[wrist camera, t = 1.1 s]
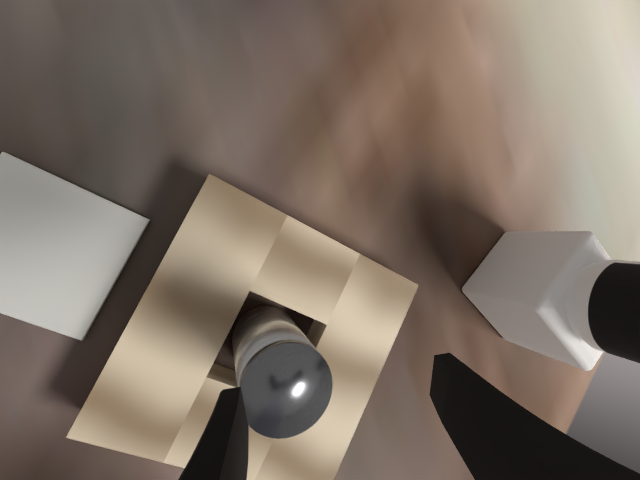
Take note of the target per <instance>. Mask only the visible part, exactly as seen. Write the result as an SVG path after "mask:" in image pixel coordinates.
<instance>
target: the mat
mask: <svg viewBox="0 0 640 480" xmlns="http://www.w3.org/2000/svg"><path fill="white" fill-rule="evenodd" d="M149 221H150V220H149V219H147V218H145V217H143V216H141V215H139V214H136V213H134V212H132V211H130V210H128V209H126V208H124V207H121V206H119V205H117V204H115V203H113V202H111V201H109V200H106V199H104V198H102V197H100V196H98V195H96V194H94V193H91V192H89V191H87V190H85V189H83V188H81V187H79V186H76V185H74V184H72V183H70V182H68V181H66V180H63V179H61V178H59V177H57V176H55V175H53V174H51V173H48V172H46V171H44V170H42V169H40V168H38V167H36V166H33V165H31V164H29V163H27V162H25V161H23V160H21V159H18V158H16V157H14V156H12V155H10V154H8V153H5V152H2V153H1V154H0V313H2V314H5V315H8V316H11V317H14V318H17V319H20V320H22V321H25V322H28V323H31V324H34V325H37V326H40V327H43V328H46V329H49V330H52V331H55V332H58V333H61V334H64V335H67V336H70V337H72V338H75V339H78V340H81V341H82V340H83V339H84V338H85V336H86V334H87V333H88V331H89V329H90V327H91V325H92V324H93V322H94V320H95V318H96V316H97V315H98V313H99V311H100V309H101V308H102V306H103V304H104V302H105V300H106V299H107V297H108V295H109V293H110V291H111V290H112V288H113V286H114V284H115V282H116V281H117V279H118V277H119V275H120V273H121V272H122V270H123V268H124V266H125V264H126V263H127V261H128V259H129V257H130V255H131V254H132V252H133V250H134V248H135V246H136V245H137V243H138V241H139V239H140V237H141V236H142V234H143V232H144V230H145V228H146V227H147V225H148V223H149Z"/></svg>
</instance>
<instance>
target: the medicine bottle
mask: <svg viewBox="0 0 640 480" xmlns="http://www.w3.org/2000/svg"><path fill="white" fill-rule="evenodd" d="M462 292H463V293H464V294H465V295H466V296H467V298H468V299H469V300H470V301H471V302H472V303H473V304H474V305H475V307H476V308H477V309H478V310H479V311H480V312H481V313H482V315H483V316H484V317H485V318H486V319H487V320H488V321H489V322H490V324H491V325H492V326H493V327H494V328H495V329H496V330H497V331H498V333H499V334H500V335H501V336H502V337H503V338H504V339H505V340H506V341H509V342H511V343H514V344H517V345H519V346H522V347H525V348H527V349H530V350H533V351H535V352H538V353H540V354H543V355H546V356H548V357H551V358H554V359H556V360H559V361H562V362H564V363H567V364H569V365H572V366H575V367H577V368H580V369H583V370H586V371H589V370H591V369H592V368H593V367H594V365H595V364H596V362H597V360H598V359H599V357H600V356H601V354H602V353H603V352H606V353H609V354H613V355H616V356H619V357H622V358H626V359H628V360H632V361H635V362H638V363H640V262H635V261H622V260H611V258H610V257H609V255H608V254H607V252H606V251H605V249H604V248H603V247H602V245H601V244H600V242H599V241H598V239H597V238H596V237H595V235H594V234H593V233H592V232H589V231H507V232H505V233H504V234H503V236H502V237H501V238H500V239H499V241H498V242H497V243H496V245H495V246H494V247H493V248H492V250H491V251H490V252H489V254H488V255H487V256H486V257H485V259H484V260H483V261H482V263H481V264H480V265H479V267H478V268H477V269H476V270H475V272H474V273H473V274H472V276H471V277H470V278H469V279H468V281H467V282H466V283H465V285H464V286H463V287H462Z"/></svg>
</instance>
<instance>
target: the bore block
mask: <svg viewBox="0 0 640 480" xmlns="http://www.w3.org/2000/svg"><path fill="white" fill-rule="evenodd" d="M418 286H419V285H417V284H415V283H413V282H412V281H410V280H408V279H406V278H404V277H402V276H400V275H398V274H397V273H395V272H393V271H391V270H389V269H387V268H385V267H384V266H382V265H380V264H378V263H376V262H374V261H372V260H370V259H369V258H367V257H365V256H363V255H361V254H359V253H357V252H355V251H354V250H352V249H350V248H348V247H346V246H344V245H342V244H340V243H339V242H337V241H335V240H333V239H331V238H329V237H327V236H325V235H324V234H322V233H320V232H318V231H316V230H314V229H312V228H310V227H309V226H307V225H305V224H303V223H301V222H299V221H297V220H295V219H294V218H292V217H290V216H288V215H286V214H284V213H282V212H280V211H279V210H277V209H275V208H273V207H271V206H269V205H267V204H265V203H264V202H262V201H260V200H258V199H256V198H254V197H252V196H250V195H249V194H247V193H245V192H243V191H241V190H239V189H237V188H235V187H234V186H232V185H230V184H228V183H226V182H224V181H222V180H221V179H219V178H217V177H215V176H213V175H211V174H209V175H208V177H207V179H206V181H205V182H204V184H203V186H202V188H201V190H200V192H199V194H198V195H197V197H196V199H195V201H194V203H193V205H192V206H191V208H190V210H189V212H188V214H187V216H186V217H185V219H184V221H183V223H182V225H181V227H180V229H179V230H178V232H177V234H176V236H175V238H174V240H173V241H172V243H171V245H170V247H169V249H168V251H167V252H166V254H165V256H164V258H163V260H162V262H161V264H160V265H159V267H158V269H157V271H156V273H155V275H154V276H153V278H152V280H151V282H150V284H149V286H148V287H147V289H146V291H145V293H144V295H143V297H142V299H141V300H140V302H139V304H138V306H137V308H136V310H135V311H134V313H133V315H132V317H131V319H130V321H129V323H128V324H127V326H126V328H125V330H124V332H123V334H122V335H121V337H120V339H119V341H118V343H117V345H116V346H115V348H114V350H113V352H112V354H111V356H110V358H109V359H108V361H107V363H106V365H105V367H104V369H103V370H102V372H101V374H100V376H99V378H98V380H97V381H96V383H95V385H94V387H93V389H92V391H91V393H90V394H89V396H88V398H87V400H86V402H85V404H84V405H83V407H82V409H81V411H80V413H79V415H78V416H77V418H76V420H75V422H74V424H73V426H72V428H71V429H70V431H69V433H68V435H67V437H66V438H69V439H73V440H77V441H81V442H85V443H89V444H93V445H97V446H100V447H104V448H108V449H112V450H116V451H120V452H124V453H128V454H132V455H135V456H139V457H143V458H147V459H151V460H155V461H159V462H163V463H167V464H171V465H174V466H178V467H182V468H185V467H186V465H187V463H188V462H189V460H190V458H191V456H192V454H193V452H194V450H195V448H196V446H197V444H198V442H199V440H200V438H201V436H202V434H203V432H204V430H205V428H206V425H207V423H208V421H209V419H210V417H211V414H212V412H213V410H214V407H215V405H216V402H217V400H218V397H219V394H220V392H221V391H222V390H223V389H229V388H235V387H237V380H236V371H235V370H232V369H229V368H226V367H224V366H221V365H218V364H215V363H214V361H215V359H216V357H217V355H218V353H219V351H220V349H221V347H222V345H223V343H224V341H225V339H226V337H227V335H228V333H229V331H230V329H231V327H232V325H233V323H234V321H235V319H236V317H237V315H238V313H239V311H240V309H241V307H242V305H243V303H244V301H245V299H246V297H247V295H248V293H249V291H252V292H254V293H256V294H258V295H261V296H263V297H265V298H267V299H270V300H272V301H274V302H276V303H279V304H281V305H283V306H285V307H288V308H290V309H292V310H295V311H297V312H299V313H301V314H304V315H306V316H308V317H310V318H313V319H314V321H313V323H312V325H311V327H310V329H309V332H308V334H307V336H306V337H307V338H308V339H309V341H310V342H311V343H312V344H313V346H314V347H315V348H316V349H317V350H318V352H319V353H320V354H321V355H322V356H323V358H324V359H325V360H326V362H327V364H328V365H329V368H330V370H331V374H332V381H333V388H332V395H331V398H330V401H329V404H328V406H327V408H326V410H325V412H324V413H323V415H322V416H321V418H320V419H319V420H318V421H317V422H316V423H315V424H314V425H313V426H312V427H310V428H309V429H308V430H306V431H304V432H303V433H301V434H298V435H296V436H293V437H289V438H283V439H275V438H269V437H265V436H263V435H260V434H259V433H257V432H255V431H254V430H253V429H252V428H251V427H250V426H249V425H248V426H249V456H248V470H247V480H334V477H335V475H336V473H337V471H338V468H339V466H340V464H341V461H342V459H343V457H344V455H345V452H346V450H347V448H348V446H349V443H350V441H351V439H352V436H353V434H354V432H355V430H356V427H357V425H358V423H359V420H360V418H361V416H362V414H363V411H364V409H365V407H366V404H367V402H368V400H369V398H370V395H371V393H372V391H373V388H374V386H375V384H376V382H377V379H378V377H379V375H380V372H381V370H382V368H383V366H384V363H385V361H386V359H387V356H388V354H389V352H390V350H391V347H392V345H393V343H394V340H395V338H396V336H397V334H398V331H399V329H400V327H401V325H402V322H403V320H404V318H405V315H406V313H407V311H408V309H409V306H410V304H411V302H412V299H413V297H414V295H415V293H416V290H417V288H418Z"/></svg>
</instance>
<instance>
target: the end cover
mask: <svg viewBox="0 0 640 480" xmlns="http://www.w3.org/2000/svg"><path fill="white" fill-rule="evenodd" d="M232 345H233V354H234V363H235V371H236V380H237V387H241V390H242V396H243V401H244V406H245V411H246V416H247V421H248V425H249V426H250V427H251V428H252V429H253V430H254V431H255V432H257V433H259V434H260V435H263V436H265V437H269V438H275V439H283V438H289V437H293V436H296V435H298V434H301V433H303V432H304V431H306V430H308V429H309V428H310V427H312V426H313V425H314V424H315V423H316V422H317V421H318V420H319V419H320V418H321V416H322V415H323V413H324V412H325V410H326V408H327V406H328V404H329V401H330V398H331V395H332V388H333V381H332V374H331V370H330V368H329V365H328V364H327V362H326V360H325V359H324V358H323V356H322V355H321V354H320V353H319V352H318V350H317V349H316V348H315V347H314V346H313V344H312V343H311V342H310V341H309V339H308V338H307V337H306V336H305V335H304V333H303V332H302V331H301V330H300V329H299V327H298V326H297V325H296V324H295V323H294V321H293V320H292V319H291V318H290V317H289V315H288V314H287V313H286V312H284V311H283V310H281V309H280V308H277V307H274V306H259V307H256V308H253V309H251V310H249V311H248V312H246V313H245V314H244V315H243V316H242V317H241V318H240V319H239V320H238V322H237V324H236V325H235V328H234V330H233V335H232Z"/></svg>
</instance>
